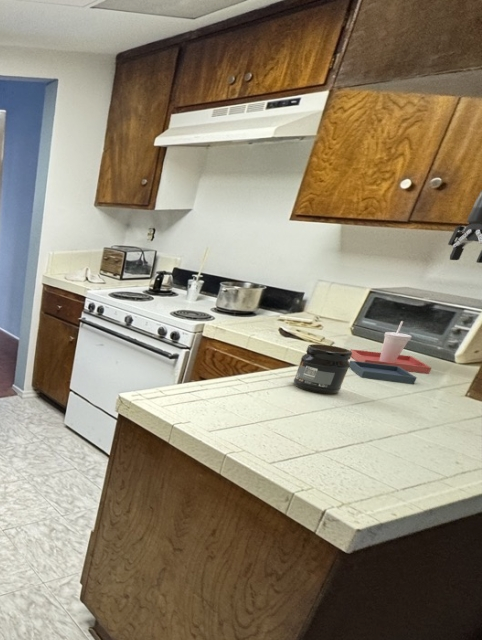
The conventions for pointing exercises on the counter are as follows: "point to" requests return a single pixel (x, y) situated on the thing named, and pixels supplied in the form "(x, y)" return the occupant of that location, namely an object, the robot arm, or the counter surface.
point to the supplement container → (323, 368)
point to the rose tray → (402, 361)
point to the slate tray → (382, 372)
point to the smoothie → (393, 345)
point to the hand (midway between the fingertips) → (467, 261)
